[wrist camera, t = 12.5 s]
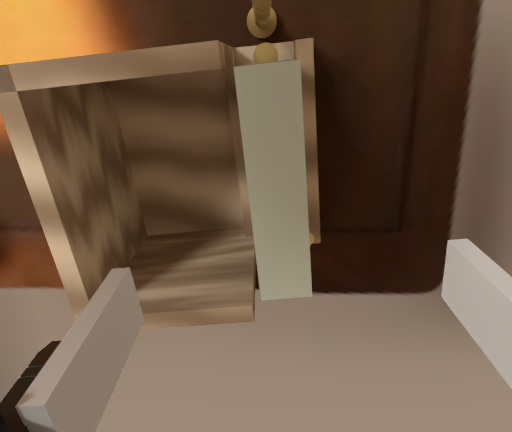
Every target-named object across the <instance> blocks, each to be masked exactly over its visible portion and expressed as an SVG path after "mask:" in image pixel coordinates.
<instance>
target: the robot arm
mask: <svg viewBox="0 0 512 432" xmlns="http://www.w3.org/2000/svg"><path fill="white" fill-rule="evenodd" d="M441 297H442V298H443V300H444V301H445V302H446V304H447V305H448V306H449V307H450V309H451V310H452V312H453V313H454V314H455V315H456V317H457V318H458V319H459V321H460V322H461V323H462V325H463V326H464V327H465V329H466V330H467V331H468V333H469V334H470V335H471V337H472V338H473V339H474V340H475V342H476V343H477V344H478V346H479V347H480V348H481V349H482V351H483V352H484V354H485V355H486V356H487V357H488V359H489V360H490V362H491V363H492V364H493V365H494V367H495V368H496V369H497V370H498V372H499V373H500V375H501V376H502V377H503V379H504V380H505V381H506V382H507V384H508V385H509V386H510V388H511V389H512V277H511V276H510V275H508V274H507V273H506V272H505V271H504V270H503V269H502V268H501V267H499V266H498V265H497V264H496V263H495V262H494V261H493V260H491V259H490V258H489V257H488V256H487V255H486V254H485V253H483V252H482V251H481V250H480V249H479V248H478V247H477V246H475V245H474V244H473V243H472V242H471V241H470V240H468V239H456V240H448V244H447V252H446V260H445V269H444V277H443V286H442V294H441ZM143 322H144V317H143V313H142V310H141V306H140V302H139V299H138V295H137V292H136V288H135V285H134V281H133V277H132V274H131V270H130V267H127V268H115V269H111V271H110V272H109V274H108V275H107V277H106V278H105V279H104V281H103V282H102V284H101V285H100V287H99V288H98V289H97V291H96V292H95V294H94V295H93V297H92V298H91V299H90V301H89V302H88V304H87V305H86V307H85V308H84V309H83V311H82V312H81V314H80V315H79V316H78V318H77V319H76V321H75V322H74V324H73V325H72V327H71V328H70V329H69V331H68V332H67V334H66V335H65V336H64V338H63V339H62V341H52V342H51V343H49V344H48V345H47V346H46V347H45V348H43V349H42V350H41V351H40V352H38V354H37V355H36V356H35V358H34V359H33V360H32V362H31V363H30V364H29V367H28V368H26V370H25V371H24V372H23V374H22V375H21V378H20V379H18V380H17V382H16V383H15V384H14V386H13V387H12V388H11V389H10V391H9V392H8V394H7V395H6V396H5V397H4V399H3V400H2V402H1V403H0V432H95V430H96V428H97V426H98V424H99V421H100V419H101V417H102V415H103V412H104V410H105V407H106V405H107V403H108V401H109V399H110V396H111V394H112V392H113V390H114V387H115V385H116V383H117V380H118V378H119V376H120V373H121V371H122V369H123V367H124V365H125V362H126V360H127V358H128V355H129V353H130V351H131V349H132V346H133V344H134V342H135V339H136V337H137V335H138V333H139V331H140V328H141V326H142V324H143Z"/></svg>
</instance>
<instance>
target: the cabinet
mask: <svg viewBox="0 0 512 432" xmlns="http://www.w3.org/2000/svg"><path fill="white" fill-rule="evenodd" d="M252 3H253V8H251V10H250V11H249V13H248V16H247V26H248V29H249V31H250V33H251V34H252V35H253V36H255V37H257V38H266V37H268V36H270V35H271V34H272V33H273V32H274V30H275V28H276V24H277V17H276V14H275V12H274V10H273V9H272V8H271V4H272V0H252ZM272 45H274V46H275V47H276V49H277V51H278V60H300V63H301V83H302V102H303V122H304V142H305V162H306V181H307V201H308V221H309V232H311V233H312V234H313V236H314V241H313V243H312V244H314V243H321V239H320V212H319V185H318V158H317V131H316V104H315V77H314V51H313V38H307V39H298V40H294V41H290V42H282V43H273V44H272ZM257 46H258V45H255V46H247V47H238V48H234V47H232V46H229V45H227V44H225V43H223V42H220V41H218V40H216V41H207V42H199V43H190V44H181V45H173V46H164V47H156V48H147V49H138V50H130V51H121V52H112V53H104V54H95V55H86V56H78V57H69V58H60V59H52V60H43V61H34V62H26V63H17V64H8V65H0V114H1V117H2V120H3V122H4V125H5V128H6V131H7V133H8V136H9V139H10V141H11V144H12V147H13V150H14V152H15V155H16V158H17V160H18V163H19V166H20V169H21V171H22V174H23V177H24V179H25V182H26V185H27V188H28V190H29V193H30V196H31V198H32V201H33V204H34V207H35V209H36V212H37V215H38V217H39V220H40V223H41V226H42V228H43V231H44V234H45V236H46V239H47V242H48V245H49V247H50V250H51V253H52V255H53V258H54V261H55V264H56V266H57V269H58V272H59V274H60V277H61V280H62V283H63V285H64V288H65V291H66V293H67V296H68V299H69V301H70V304H71V307H72V309H73V312H74V315H75V318H76V319H77V318H78V316H79V315H80V314H81V312H82V311H83V309H84V308H85V307H86V305H87V304H88V302H89V301H90V299H91V298H92V297H93V295H94V294H95V292H96V291H97V289H98V288H99V287H100V285H101V284H102V282H103V281H104V279H105V278H106V277H107V275H108V274H109V272H110V271H111V269H115V268H127V267H130V270H131V274H132V277H133V281H134V285H135V288H136V292H137V295H138V299H139V302H140V306H141V310H142V313H143V317H144V322H143V324H142V326H141V328H140V330H142V329H155V328H168V327H182V326H196V325H209V324H221V323H236V322H247V321H248V322H249V321H254V310H255V309H254V308H255V272H256V254H255V246H254V237H253V229H252V220H251V212H250V203H249V195H248V186H247V178H246V169H245V161H244V152H243V144H242V135H241V127H240V118H239V110H238V101H237V93H236V84H235V76H234V68H233V67H235V66H239V65H243V64H251V63H255V62H254V59H253V54H254V50H255V48H256V47H257Z"/></svg>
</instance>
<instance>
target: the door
mask: <svg viewBox="0 0 512 432" xmlns="http://www.w3.org/2000/svg"><path fill="white" fill-rule="evenodd" d="M253 59H254V62H255V63H251V64H243V65H239V66H235V67H233V68H234V76H235V84H236V93H237V101H238V110H239V118H240V127H241V135H242V144H243V152H244V161H245V169H246V178H247V186H248V195H249V203H250V212H251V220H252V229H253V237H254V246H255V254H256V263H257V271H258V280H259V288H260V296H261V301H264V300H265V301H266V300H278V299H291V298H304V297H312V280H311V260H310V245H311V244H312V243H313V241H314V236H313V234H312V233H311V232H309V221H308V201H307V181H306V162H305V142H304V122H303V102H302V83H301V63H300V60H278V51H277V49H276V47H275V46H274V45H272V44H271V43H267V42H265V43H261V44H259V45H258V46H257V47H256V48H255V50H254V54H253Z"/></svg>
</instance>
